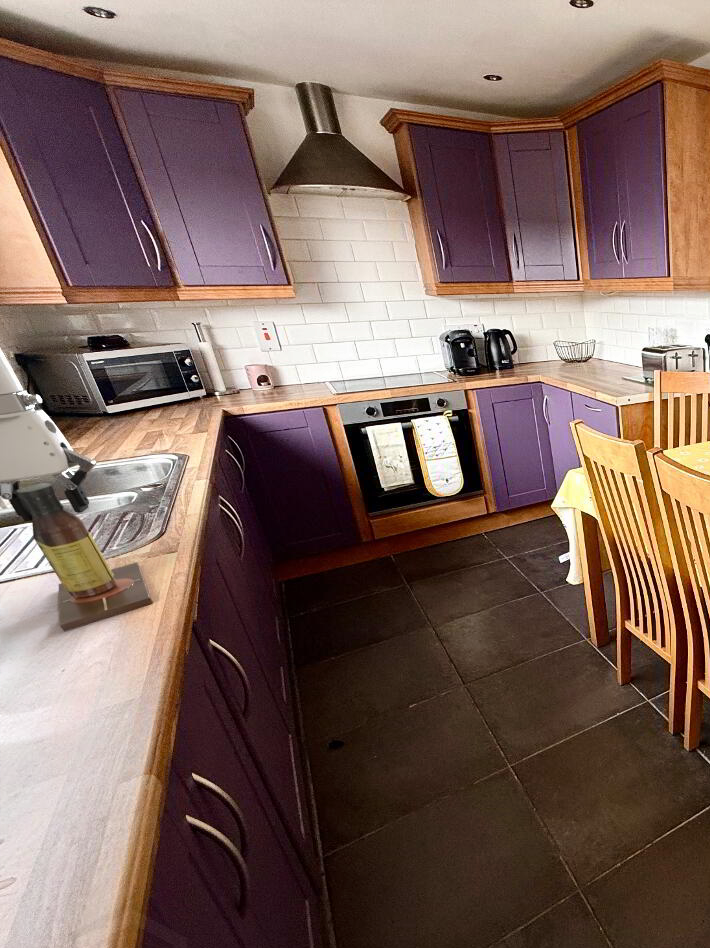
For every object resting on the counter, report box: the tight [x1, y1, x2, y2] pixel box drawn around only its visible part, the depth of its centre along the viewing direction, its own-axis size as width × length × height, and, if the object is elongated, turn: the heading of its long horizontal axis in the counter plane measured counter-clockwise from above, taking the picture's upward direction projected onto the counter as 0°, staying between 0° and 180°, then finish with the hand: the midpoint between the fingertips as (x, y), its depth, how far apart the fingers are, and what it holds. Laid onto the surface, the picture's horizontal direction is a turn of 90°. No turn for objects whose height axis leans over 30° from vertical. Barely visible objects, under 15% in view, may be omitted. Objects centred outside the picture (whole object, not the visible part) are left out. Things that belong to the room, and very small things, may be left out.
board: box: [58, 562, 153, 632], centre depth 104 cm, size 22×11×1 cm, turn 47°
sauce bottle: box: [17, 482, 117, 598], centre depth 99 cm, size 7×6×20 cm
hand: (57, 513), depth 97 cm, fingers open, 5 cm apart
